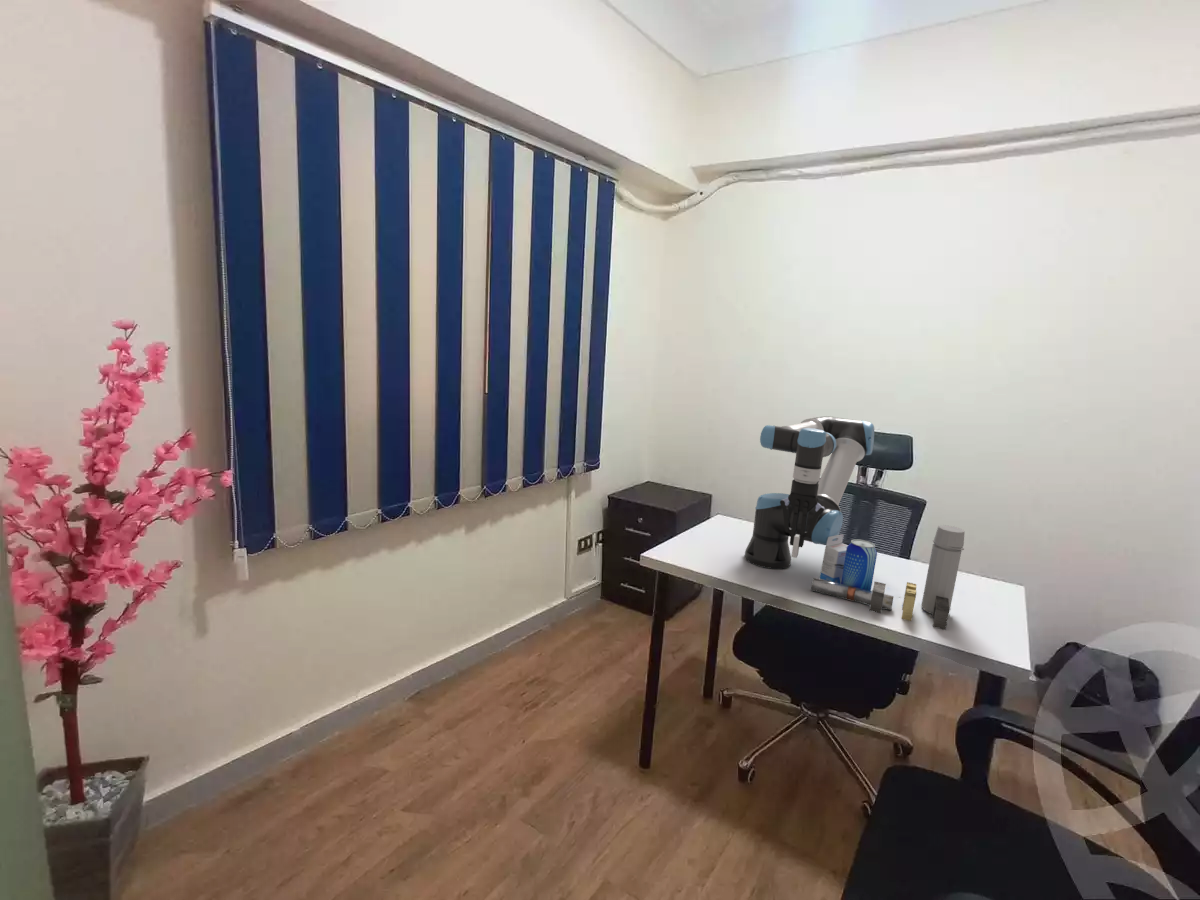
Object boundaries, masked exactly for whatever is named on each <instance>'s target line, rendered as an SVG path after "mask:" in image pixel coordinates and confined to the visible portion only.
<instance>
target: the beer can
mask: <svg viewBox="0 0 1200 900" xmlns="http://www.w3.org/2000/svg"><path fill="white" fill-rule="evenodd" d="M847 545H848V546H847V549H846V556H845V562H844V568H843V574H842V581H841V584H844V585H848V586H852V587H856V588H861V589H865V590H869V591H872V586H873V582H874V581H873V580H874V574H875V568H876V562H877V558H878V557H877V556H878V552H877V548H876V547H875V546H876V544H875V543H873V542H871V541H869V540H866V539H865V540H864V539H860V538H859V539H857V538H855V539H851V540H850V543H849V544H847Z"/></svg>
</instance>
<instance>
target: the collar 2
mask: <svg viewBox="0 0 1200 900" xmlns="http://www.w3.org/2000/svg"><path fill="white" fill-rule="evenodd" d="M949 610H950V611H951V607H950V608H949V600H948V598H944V597H940V596H936V599H935V604H934V610H933V614H931V615H932V618H933V622H932V627H933V628H936V629H941V630H945V631H946V628H947V626H948V625H947V623H948V620H949V614H950V612H949Z"/></svg>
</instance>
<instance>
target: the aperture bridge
mask: <svg viewBox="0 0 1200 900" xmlns="http://www.w3.org/2000/svg"><path fill="white" fill-rule="evenodd" d="M905 586H906V587H905V591H904V597H903V602H902V607H901V608H902V609H901V610H902V614H901V619H902V620H904V621H905V620H906V621H908V622H912V618H913V615H914V614H913V613H914V608H915V602H916V596H917V584H916V583H913V582H908V581H907V582H906V585H905Z"/></svg>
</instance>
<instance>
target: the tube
mask: <svg viewBox="0 0 1200 900" xmlns="http://www.w3.org/2000/svg"><path fill="white" fill-rule="evenodd" d="M810 591H812V592H815V593H821V594H824V595H828V596H831V597H837V598H840V599H844V600H848V601H852V602H857V603H861V604H865V605H868V606H870V603H871V597H872V592H873V590H871V591H869V590H865V589H861V588H856V587H852V586H848V585H844V584H840V583H835V582H831V581H827V580H823V579H820V577H814V576H813V578H812V580H811V585H810ZM894 598H895V597H894V596H893V595H890V594H885V593H884V598H883V604H882V609H885V610H889V611H892V608H893V604H894Z"/></svg>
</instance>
